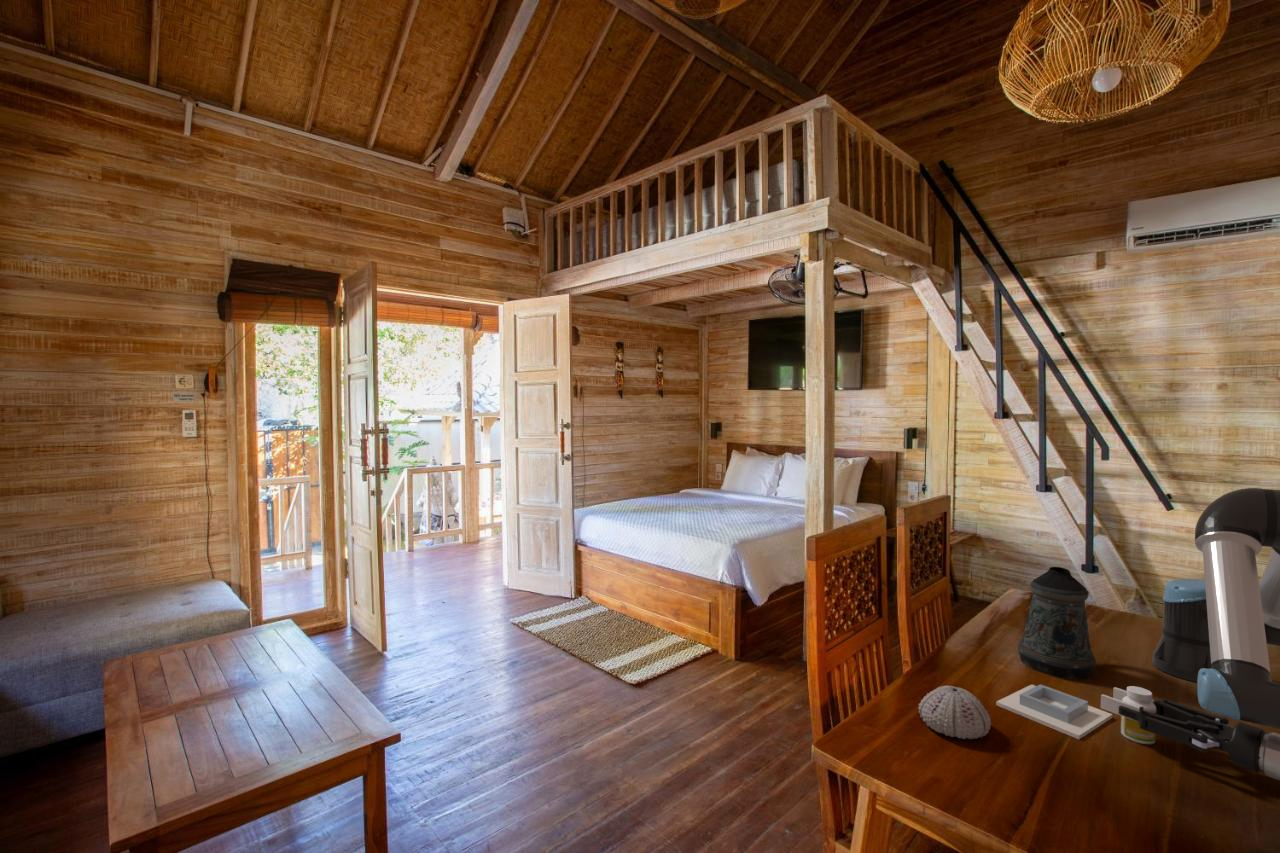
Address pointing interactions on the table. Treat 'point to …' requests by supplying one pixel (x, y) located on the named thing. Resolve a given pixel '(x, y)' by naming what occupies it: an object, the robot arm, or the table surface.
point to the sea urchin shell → (955, 713)
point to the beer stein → (1058, 627)
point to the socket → (1055, 710)
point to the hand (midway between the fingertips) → (1108, 697)
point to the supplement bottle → (1130, 726)
